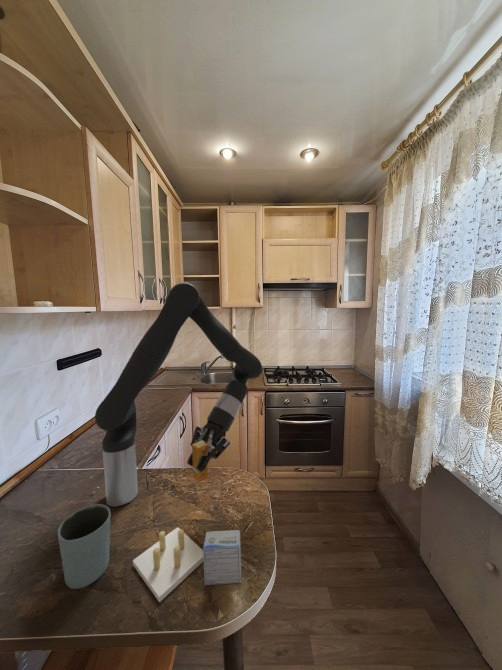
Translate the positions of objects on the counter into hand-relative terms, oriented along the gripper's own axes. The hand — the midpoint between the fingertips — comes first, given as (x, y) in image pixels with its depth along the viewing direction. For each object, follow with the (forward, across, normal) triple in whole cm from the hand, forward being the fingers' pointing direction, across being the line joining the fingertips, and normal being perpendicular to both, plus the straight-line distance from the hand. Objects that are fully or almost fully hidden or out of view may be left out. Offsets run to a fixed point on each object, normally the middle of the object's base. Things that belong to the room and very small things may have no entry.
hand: (194, 467), depth 69 cm
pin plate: (+19, +5, +3) cm, 20 cm away
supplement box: (+2, 0, +4) cm, 5 cm away
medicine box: (+15, +17, +7) cm, 24 cm away
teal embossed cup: (+28, -8, -6) cm, 30 cm away
